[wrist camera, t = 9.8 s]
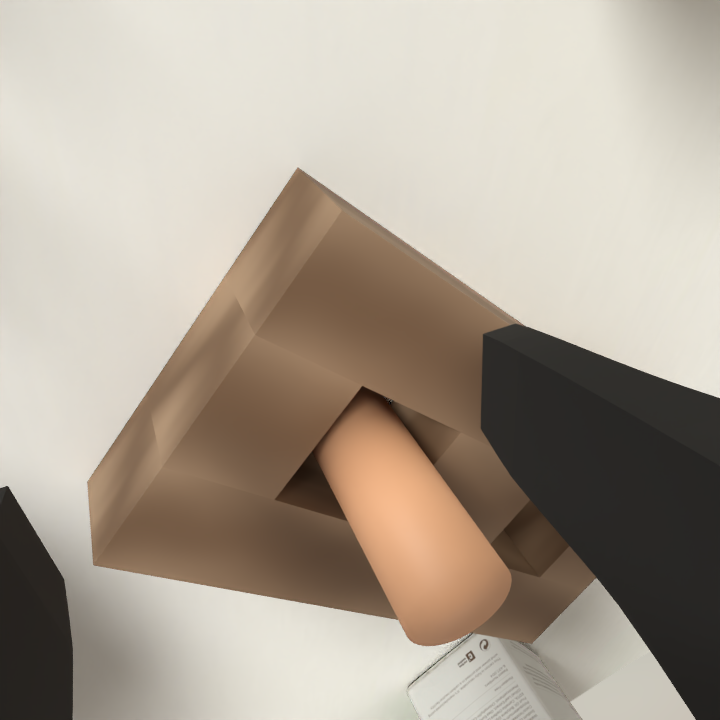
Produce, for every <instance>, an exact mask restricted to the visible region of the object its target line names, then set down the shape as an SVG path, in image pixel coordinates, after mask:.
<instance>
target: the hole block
mask: <svg viewBox="0 0 720 720" xmlns="http://www.w3.org/2000/svg"><path fill="white" fill-rule="evenodd" d="M515 323H516V324H519V325H523V324H521V323H520V322H518V321H517V320H516V319H514V318H513V317H511V316H510V315H508V314H507V313H506V312H504V311H503V310H501V309H500V308H498V307H497V306H496V305H494V304H493V303H491V302H490V301H488V300H487V299H486V298H484V297H483V296H481V295H480V294H478V293H477V292H476V291H474V290H473V289H471V288H470V287H468V286H467V285H465V284H464V283H463V282H461V281H460V280H458V279H457V278H455V277H454V276H453V275H451V274H450V273H448V272H447V271H445V270H444V269H443V268H441V267H440V266H438V265H437V264H435V263H434V262H433V261H431V260H430V259H428V258H427V257H425V256H424V255H423V254H421V253H420V252H418V251H417V250H415V249H414V248H412V247H411V246H410V245H408V244H407V243H405V242H404V241H402V240H401V239H400V238H398V237H397V236H395V235H394V234H392V233H391V232H390V231H388V230H387V229H385V228H384V227H382V226H381V225H380V224H378V223H377V222H375V221H374V220H372V219H371V218H370V217H368V216H367V215H365V214H364V213H362V212H361V211H359V210H358V209H357V208H355V207H354V206H352V205H351V204H349V203H348V202H347V201H345V200H344V199H342V198H341V197H339V196H338V195H337V194H335V193H334V192H332V191H331V190H329V189H328V188H327V187H325V186H324V185H322V184H321V183H319V182H318V181H317V180H315V179H314V178H312V177H311V176H309V175H308V174H306V173H305V172H304V171H302V170H301V169H299V168H297V170H296V171H295V173H294V174H293V176H292V177H291V179H290V180H289V182H288V183H287V185H286V186H285V188H284V189H283V191H282V192H281V194H280V195H279V196H278V198H277V199H276V201H275V202H274V204H273V205H272V207H271V208H270V210H269V211H268V213H267V214H266V216H265V217H264V219H263V220H262V222H261V223H260V225H259V226H258V228H257V229H256V231H255V232H254V234H253V235H252V237H251V238H250V240H249V241H248V243H247V244H246V246H245V247H244V249H243V250H242V252H241V253H240V255H239V256H238V258H237V259H236V261H235V262H234V264H233V265H232V267H231V268H230V270H229V271H228V273H227V274H226V276H225V277H224V279H223V280H222V282H221V283H220V285H219V286H218V288H217V289H216V291H215V292H214V294H213V295H212V297H211V298H210V300H209V301H208V303H207V304H206V306H205V307H204V309H203V310H202V312H201V313H200V315H199V316H198V318H197V319H196V321H195V322H194V324H193V325H192V327H191V328H190V330H189V331H188V332H187V334H186V335H185V337H184V338H183V340H182V341H181V343H180V344H179V346H178V347H177V349H176V350H175V352H174V353H173V355H172V356H171V358H170V359H169V361H168V362H167V364H166V365H165V367H164V368H163V370H162V371H161V373H160V374H159V376H158V377H157V379H156V380H155V382H154V383H153V385H152V386H151V388H150V389H149V391H148V392H147V394H146V395H145V397H144V398H143V400H142V401H141V403H140V404H139V406H138V407H137V409H136V410H135V412H134V413H133V415H132V416H131V418H130V419H129V421H128V422H127V424H126V425H125V427H124V428H123V430H122V431H121V433H120V434H119V436H118V437H117V439H116V440H115V442H114V443H113V445H112V446H111V448H110V449H109V451H108V452H107V454H106V455H105V457H104V458H103V460H102V461H101V463H100V464H99V465H98V467H97V468H96V470H95V471H94V473H93V474H92V476H91V477H90V479H89V480H88V482H87V483H88V497H89V511H90V525H91V539H92V553H93V565H95V566H101V567H106V568H112V569H117V570H123V571H129V572H134V573H140V574H145V575H151V576H156V577H162V578H168V579H173V580H179V581H184V582H190V583H196V584H201V585H207V586H212V587H218V588H223V589H229V590H235V591H240V592H246V593H251V594H257V595H262V596H268V597H274V598H279V599H285V600H290V601H296V602H302V603H307V604H313V605H318V606H324V607H329V608H335V609H341V610H346V611H352V612H357V613H363V614H368V615H374V616H380V617H385V618H391V619H396V620H398V618H397V616H396V614H395V612H394V610H393V608H392V606H391V604H390V602H389V600H388V598H387V596H386V594H385V592H384V590H383V588H382V587H381V585H380V583H379V581H378V579H377V577H376V575H375V573H374V571H373V569H372V567H371V565H370V563H369V561H368V559H367V557H366V555H365V553H364V551H363V549H362V547H361V546H360V544H359V542H358V540H357V538H356V536H355V534H354V532H353V530H352V528H351V526H350V524H349V522H348V520H347V518H346V516H345V514H344V512H343V510H342V508H341V506H340V505H339V503H338V501H337V499H336V497H335V495H334V493H333V491H332V489H331V487H330V485H329V483H328V481H327V479H326V477H325V475H324V473H323V471H322V469H321V467H320V465H319V464H318V462H317V460H316V458H315V456H314V454H312V453H311V452H312V450H313V449H314V448H315V447H316V445H317V444H318V443H319V441H320V440H321V439H322V438H323V436H324V435H325V434H326V432H327V431H328V430H329V428H330V427H331V426H332V425H333V423H334V422H335V421H336V419H337V418H338V417H339V415H340V414H341V413H342V412H343V410H344V409H345V408H346V406H347V405H348V404H349V403H350V401H351V400H352V399H353V397H354V396H355V395H356V393H357V392H358V391H359V390H360V388H361V387H362V386H364V387H366V388H368V389H370V390H372V391H374V392H377V393H379V394H381V395H383V396H385V397H387V398H389V399H391V400H393V402H392V403H391V405H390V406H391V408H392V409H393V410H394V412H395V413H396V415H397V416H398V417H399V419H400V420H401V421H402V423H403V424H404V426H405V427H406V428H407V430H408V431H409V433H410V434H411V435H412V437H413V438H414V439H415V441H416V442H417V444H418V445H419V446H420V448H421V449H422V451H423V452H424V453H425V455H426V456H427V457H428V459H429V460H430V462H431V463H432V464H433V466H434V467H435V468H436V470H437V471H438V473H439V474H440V475H441V477H442V478H443V480H444V481H445V482H446V484H447V485H448V486H449V488H450V489H451V491H452V492H453V493H454V495H455V496H456V497H457V499H458V500H459V502H460V503H461V504H462V506H463V507H464V509H465V510H466V511H467V513H468V514H469V515H470V517H471V518H472V520H473V521H474V522H475V524H476V525H477V527H478V528H479V529H480V531H481V532H482V533H483V535H484V536H485V538H486V539H487V540H488V542H489V543H490V544H491V546H492V547H493V549H494V550H495V551H496V553H497V554H498V556H499V557H500V558H501V560H502V561H503V562H504V564H505V565H506V567H507V568H508V569H509V571H510V573H511V578H512V582H511V588H510V591H509V593H508V595H507V597H506V599H505V601H504V602H503V604H502V605H501V606H500V608H499V609H498V610H497V611H496V612H495V613H494V614H493V615H492V616H491V617H490V618H489V619H488V620H487V621H486V622H485V623H483V624H482V625H481V626H480V627H478V628H477V629H475V630H474V631H472V632H470V633H475V634H480V635H486V636H491V637H497V638H502V639H508V640H514V641H519V642H525V643H530V644H532V643H533V642H534V641H535V640H536V639H537V638H538V637H539V636H540V635H541V634H542V633H543V632H544V631H545V630H546V629H547V628H548V627H549V625H550V624H551V623H552V622H553V621H554V620H555V619H556V618H557V617H558V616H559V615H560V614H561V613H562V612H563V611H564V610H565V609H566V608H567V607H568V606H569V605H570V604H571V603H572V602H573V601H574V600H575V599H576V598H577V597H578V596H579V595H580V594H581V593H582V592H583V591H584V590H585V589H586V588H587V587H588V585H589V584H590V583H591V582H592V581H593V580H594V579H595V578H596V576H595V575H594V574H593V573H592V572H591V570H590V569H589V568H588V567H587V566H586V565H585V563H584V562H583V561H582V560H581V559H580V558H579V556H578V555H577V554H576V553H575V552H574V551H573V549H572V548H571V547H570V546H569V545H568V544H567V542H566V541H565V540H564V539H563V538H562V537H561V535H560V534H559V533H558V532H557V531H556V529H555V528H554V527H553V526H552V525H551V524H550V522H549V521H548V520H547V519H546V518H545V517H544V515H543V514H542V513H541V512H540V511H539V510H538V508H537V507H536V506H535V505H534V504H533V502H532V501H531V500H530V499H529V498H528V496H527V495H526V494H525V493H524V492H523V490H522V489H521V488H520V487H519V486H518V484H517V483H516V482H515V481H514V480H513V478H512V477H511V476H510V474H509V473H508V471H507V470H506V468H505V467H504V465H503V463H502V462H501V460H500V459H499V457H498V456H497V454H496V453H495V451H494V450H493V448H492V446H491V445H490V443H489V441H488V440H487V438H486V437H485V435H484V433H483V432H482V430H481V390H482V351H483V334H484V333H487V332H490V331H493V330H496V329H499V328H503V327H506V326H509V325H512V324H515ZM523 326H524V325H523Z"/></svg>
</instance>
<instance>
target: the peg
mask: <svg viewBox="0 0 720 720" xmlns="http://www.w3.org/2000/svg"><path fill="white" fill-rule="evenodd" d="M312 452H313V454H314V456H315V458H316V460H317V462H318V464H319V465H320V467H321V469H322V471H323V473H324V475H325V477H326V479H327V481H328V483H329V485H330V487H331V489H332V491H333V493H334V495H335V497H336V499H337V501H338V503H339V505H340V506H341V508H342V510H343V512H344V514H345V516H346V518H347V520H348V522H349V524H350V526H351V528H352V530H353V532H354V534H355V536H356V538H357V540H358V542H359V544H360V546H361V547H362V549H363V551H364V553H365V555H366V557H367V559H368V561H369V563H370V565H371V567H372V569H373V571H374V573H375V575H376V577H377V579H378V581H379V583H380V585H381V587H382V588H383V590H384V592H385V594H386V596H387V598H388V600H389V602H390V604H391V606H392V608H393V610H394V612H395V614H396V616H397V618H398V620H399V622H400V624H401V626H402V628H403V629H404V631H405V633H406V635H407V637H408V638H409V640H410V641H412V642H413V643H415V644H418V645H422V646H435V645H441V644H445V643H448V642H451V641H454V640H457V639H459V638H461V637H463V636H465V635H467V634H469V633H470V632H472V631H474V630H475V629H477V628H478V627H480V626H481V625H482V624H483V623H485V622H486V621H487V620H488V619H489V618H490V617H491V616H492V615H493V614H494V613H495V612H496V611H497V610H498V609H499V608H500V606H501V605H502V604H503V602H504V601H505V599H506V597H507V595H508V593H509V591H510V588H511V582H512V578H511V573H510V571H509V569H508V568H507V567H506V565H505V564H504V562H503V561H502V560H501V558H500V557H499V556H498V554H497V553H496V551H495V550H494V549H493V547H492V546H491V544H490V543H489V542H488V540H487V539H486V538H485V536H484V535H483V533H482V532H481V531H480V529H479V528H478V527H477V525H476V524H475V522H474V521H473V520H472V518H471V517H470V515H469V514H468V513H467V511H466V510H465V509H464V507H463V506H462V504H461V503H460V502H459V500H458V499H457V497H456V496H455V495H454V493H453V492H452V491H451V489H450V488H449V486H448V485H447V484H446V482H445V481H444V480H443V478H442V477H441V475H440V474H439V473H438V471H437V470H436V468H435V467H434V466H433V464H432V463H431V462H430V460H429V459H428V457H427V456H426V455H425V453H424V452H423V451H422V449H421V448H420V446H419V445H418V444H417V442H416V441H415V439H414V438H413V437H412V435H411V434H410V433H409V431H408V430H407V428H406V427H405V426H404V424H403V423H402V421H401V420H400V419H399V417H398V416H397V415H396V413H395V412H394V410H393V409H392V408H391V406H390V405H389V404H388V402H387V401H386V399H385V398H384V397H383V395H381V394H379V393H377V392H374V391H372V390H370V389H368V388H366V387H364V386H362V387H361V388H360V390H359V391H358V392H357V393H356V395H355V396H354V397H353V399H352V400H351V401H350V403H349V404H348V405H347V406H346V408H345V409H344V410H343V412H342V413H341V414H340V415H339V417H338V418H337V419H336V421H335V422H334V423H333V425H332V426H331V427H330V428H329V430H328V431H327V432H326V434H325V435H324V436H323V438H322V439H321V440H320V441H319V443H318V444H317V445H316V447H315V448H314V449H313V450H312Z"/></svg>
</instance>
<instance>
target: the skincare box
mask: <svg viewBox="0 0 720 720" xmlns="http://www.w3.org/2000/svg"><path fill="white" fill-rule="evenodd" d="M407 694H408V696H409V698H410V700H411V702H412V704H413V706H414V708H415V710H416V712H417V714H418V716H419V718H420V720H582V718H581V717H580V716H579V714H578V713H577V711H576V710H575V709H574V707H573V706H572V704H571V703H570V701H569V700H568V698H567V697H566V696H565V694H564V693H563V691H562V690H561V688H560V687H559V685H558V684H557V683H556V681H555V680H554V678H553V677H552V675H551V674H550V673H549V671H548V670H547V668H546V667H545V665H544V664H543V662H542V661H541V659H540V658H539V657H538V656H537V655H536V654H535V653H533V652H532V651H530V650H529V649H528V648H526V647H525V646H523V645H522V644H521V643H519V642H518V641H514V640H508V639H502V638H497V637H491V636H486V635H480V634H475V633H473V634H472V635H471V636H469V637H468V638H467V639H466V640H464V641H463V642H462V643H461V644H459V645H458V646H457V647H456V648H455V649H453V650H452V651H451V652H449V653H448V654H447V655H446V656H445V657H443V658H442V659H441V660H440V661H438V662H437V663H436V664H435V665H434V666H433V667H431V668H430V669H429V670H428V671H427V672H425V673H424V674H423V675H422V676H421V677H419V678H418V679H417V680H416V681H415V682H414V683H413V684H412V685H410V686H409V687H408V689H407Z"/></svg>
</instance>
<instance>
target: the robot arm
mask: <svg viewBox="0 0 720 720" xmlns="http://www.w3.org/2000/svg"><path fill="white" fill-rule="evenodd" d="M481 430H482V432H483V433H484V435H485V437H486V438H487V440H488V441H489V443H490V445H491V446H492V448H493V450H494V451H495V453H496V454H497V456H498V457H499V459H500V460H501V462H502V463H503V465H504V467H505V468H506V470H507V471H508V473H509V474H510V476H511V477H512V478H513V480H514V481H515V482H516V483H517V484H518V486H519V487H520V488H521V489H522V490H523V492H524V493H525V494H526V495H527V496H528V498H529V499H530V500H531V501H532V502H533V504H534V505H535V506H536V507H537V508H538V510H539V511H540V512H541V513H542V514H543V515H544V517H545V518H546V519H547V520H548V521H549V522H550V524H551V525H552V526H553V527H554V528H555V529H556V531H557V532H558V533H559V534H560V535H561V537H562V538H563V539H564V540H565V541H566V542H567V544H568V545H569V546H570V547H571V548H572V549H573V551H574V552H575V553H576V554H577V555H578V556H579V558H580V559H581V560H582V561H583V562H584V563H585V565H586V566H587V567H588V568H589V569H590V570H591V572H592V573H593V574H594V575H595V576H596V577H597V579H598V580H599V581H600V582H601V584H602V585H603V586H604V587H605V589H606V590H607V591H608V592H609V594H610V595H611V596H612V597H613V599H614V600H615V601H616V603H617V604H618V605H619V607H620V608H621V609H622V611H623V612H624V614H625V615H626V617H627V618H628V619H629V621H630V622H631V624H632V625H633V627H634V628H635V629H636V631H637V632H638V634H639V635H640V637H641V638H642V640H643V641H644V642H645V644H646V645H647V647H648V648H649V650H650V651H651V652H652V654H653V655H654V657H655V658H656V659H657V661H658V663H659V664H660V666H661V667H662V669H663V670H664V672H665V673H666V675H667V676H668V678H669V679H670V681H671V682H672V684H673V685H674V687H675V688H676V690H677V692H678V693H679V694H680V696H681V698H682V699H683V701H684V702H685V704H686V705H687V707H688V708H689V710H690V711H691V713H692V714H693V716H694V717H695V719H696V720H720V398H717V397H714V396H711V395H708V394H705V393H702V392H699V391H696V390H693V389H690V388H687V387H684V386H681V385H678V384H676V383H673V382H670V381H667V380H664V379H662V378H659V377H656V376H653V375H651V374H648V373H645V372H643V371H640V370H637V369H635V368H632V367H629V366H627V365H624V364H622V363H619V362H616V361H614V360H611V359H609V358H606V357H604V356H601V355H599V354H596V353H594V352H591V351H589V350H586V349H583V348H581V347H578V346H576V345H573V344H571V343H568V342H566V341H563V340H561V339H558V338H556V337H553V336H550V335H548V334H545V333H543V332H540V331H537V330H534V329H532V328H529V327H526V326H523V325H519V324H516V323H515V324H512V325H509V326H506V327H503V328H499V329H496V330H493V331H490V332H487V333H484V334H483V351H482V390H481ZM72 713H73V647H72V638H71V629H70V620H69V612H68V605H67V597H66V590H65V583H64V578H63V577H62V575H61V573H60V572H59V570H58V568H57V567H56V565H55V563H54V562H53V560H52V558H51V557H50V555H49V554H48V552H47V550H46V549H45V547H44V545H43V544H42V542H41V540H40V539H39V537H38V535H37V534H36V532H35V530H34V529H33V527H32V525H31V524H30V522H29V520H28V519H27V517H26V515H25V514H24V512H23V510H22V509H21V507H20V505H19V504H18V502H17V500H16V499H15V497H14V495H13V494H12V492H11V490H10V489H9V487H8V486H6V487H3V488H0V720H72Z"/></svg>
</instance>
